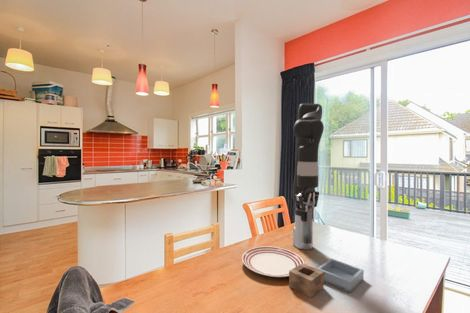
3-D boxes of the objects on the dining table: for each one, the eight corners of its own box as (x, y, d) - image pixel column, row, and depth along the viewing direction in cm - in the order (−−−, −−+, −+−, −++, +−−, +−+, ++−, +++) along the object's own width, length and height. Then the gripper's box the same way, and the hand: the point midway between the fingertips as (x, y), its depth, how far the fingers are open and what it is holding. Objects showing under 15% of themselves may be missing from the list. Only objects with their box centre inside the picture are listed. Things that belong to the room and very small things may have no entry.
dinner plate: (315, 265, 104) (315, 258, 104) (283, 292, 84) (283, 283, 84) (265, 247, 123) (265, 241, 123) (229, 266, 103) (229, 258, 102)
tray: (316, 278, 93) (316, 268, 93) (331, 267, 101) (331, 258, 101) (350, 293, 83) (350, 282, 83) (363, 279, 92) (363, 269, 92)
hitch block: (289, 286, 87) (289, 270, 87) (302, 278, 93) (302, 263, 93) (311, 297, 80) (311, 280, 80) (323, 287, 86) (323, 271, 86)
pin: (297, 241, 86) (297, 201, 86) (304, 238, 90) (304, 199, 89) (309, 245, 83) (309, 203, 82) (316, 242, 86) (316, 201, 86)
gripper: (308, 172, 93) (307, 214, 94) (287, 174, 84) (287, 221, 84) (326, 173, 88) (325, 218, 88) (306, 176, 78) (306, 226, 78)
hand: (307, 219), depth 86 cm, fingers closed on pin, 3 cm apart
